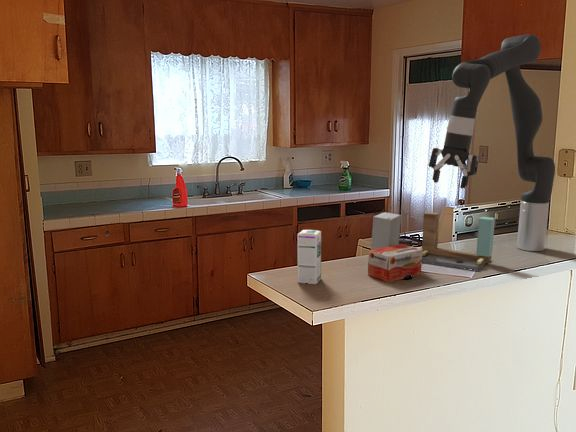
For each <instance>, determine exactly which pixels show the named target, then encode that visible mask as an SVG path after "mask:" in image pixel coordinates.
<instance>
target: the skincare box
mask: <svg viewBox="0 0 576 432" xmlns="http://www.w3.org/2000/svg"><path fill="white" fill-rule="evenodd" d="M401 222H402V215H401V214H398V213H397V214H396V213H392V212H385V211H384V212H381V213H379V214H377V215H374V216H373V217H372V231H371V244H370V245H371V247H370V250H375V249H380V248H384V247H389V246H395V245H400V235H401Z"/></svg>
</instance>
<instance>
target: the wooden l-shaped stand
mask: <svg viewBox="0 0 576 432" xmlns="http://www.w3.org/2000/svg"><path fill="white" fill-rule="evenodd" d="M439 224H440V213H439V212H432V211H426V212H424V213H423V224H422V242H421V243H422V244H421V249H422V256H424V255H426V254H428V253H430V254H437V255H444V256H451V257H458V258H464V259H471V260H479V259H480V258H484V261H485V262H487V263H490V262H491V261H492V258H493V257H492V255H491V256H490V257H486V256H479V255H476V252H469V251H462V250H454V249H448V248H439V247H438V243H439V242H438V239H439Z"/></svg>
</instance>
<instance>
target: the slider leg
mask: <svg viewBox="0 0 576 432" xmlns="http://www.w3.org/2000/svg"><path fill="white" fill-rule="evenodd" d="M495 220H496V218H495V217H489V216H481V217H479V218H478V225H477V227H478V228H477V238H476V239H477V241H476V252H475V253H476V255H479V256H486V257H490V256H492V255H493V249H494V247H493V246H494V235H495V225H496V224H495ZM483 261H484V258H480V259H479V260H478V261H477V264H481V263H482V262H483Z"/></svg>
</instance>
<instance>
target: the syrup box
mask: <svg viewBox="0 0 576 432" xmlns="http://www.w3.org/2000/svg"><path fill="white" fill-rule="evenodd" d="M296 236H297V237H296V238H297V249H296V251H297V258H296V259H297V260H296V261H297V283H299V284H305V283H308V285H317V284H318V283H319V282H320V280H321V279H322V230H318V229H302V230H301V231H300V232H298V233H297V235H296Z"/></svg>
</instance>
